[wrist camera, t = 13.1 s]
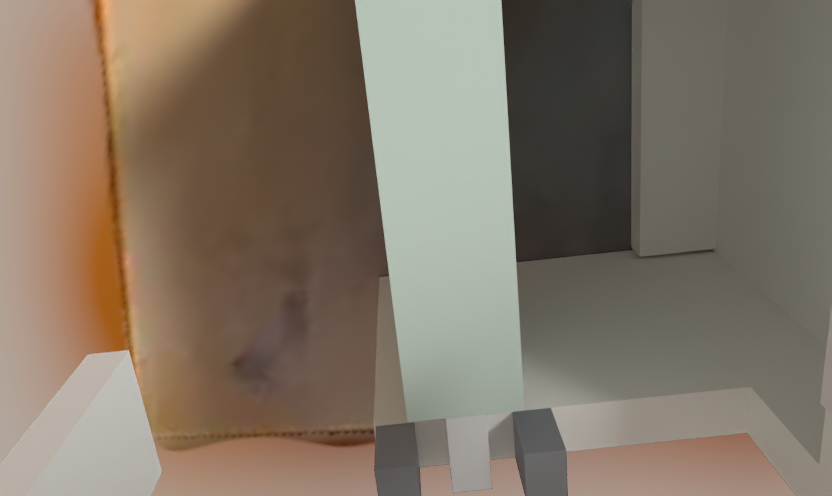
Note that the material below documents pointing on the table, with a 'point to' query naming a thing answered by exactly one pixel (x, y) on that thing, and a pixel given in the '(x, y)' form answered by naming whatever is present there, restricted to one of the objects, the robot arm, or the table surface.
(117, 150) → the table surface
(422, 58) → the door
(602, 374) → the cabinet
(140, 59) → the table surface
